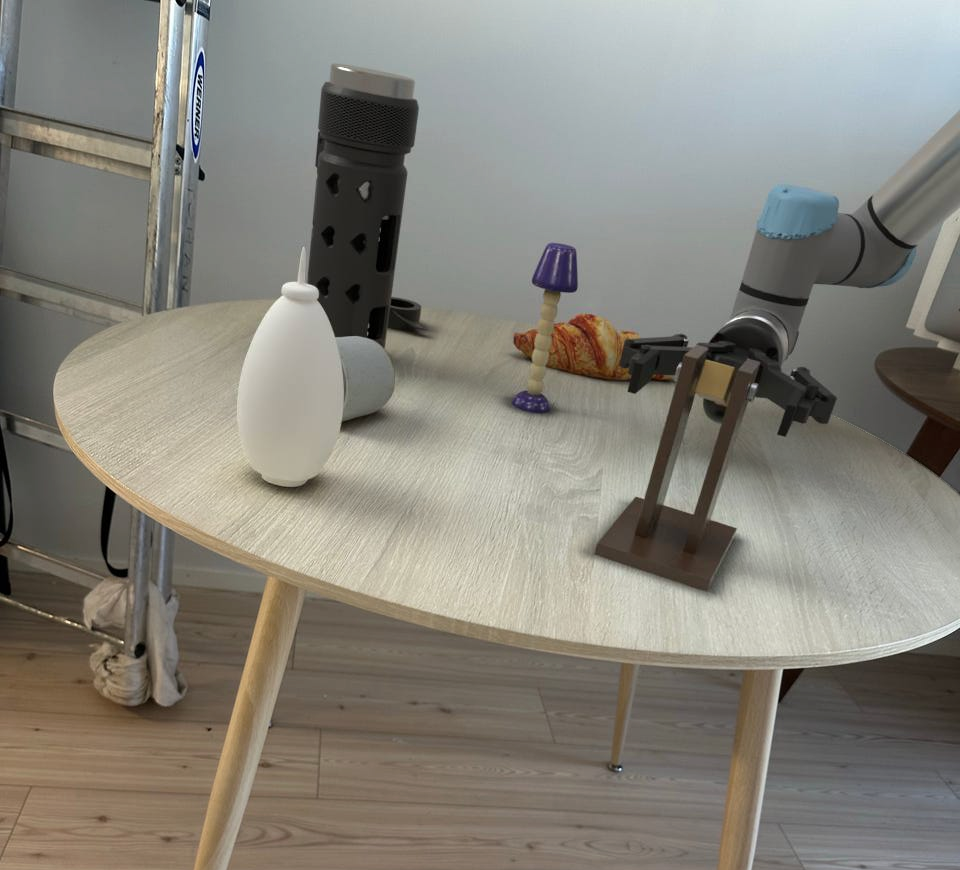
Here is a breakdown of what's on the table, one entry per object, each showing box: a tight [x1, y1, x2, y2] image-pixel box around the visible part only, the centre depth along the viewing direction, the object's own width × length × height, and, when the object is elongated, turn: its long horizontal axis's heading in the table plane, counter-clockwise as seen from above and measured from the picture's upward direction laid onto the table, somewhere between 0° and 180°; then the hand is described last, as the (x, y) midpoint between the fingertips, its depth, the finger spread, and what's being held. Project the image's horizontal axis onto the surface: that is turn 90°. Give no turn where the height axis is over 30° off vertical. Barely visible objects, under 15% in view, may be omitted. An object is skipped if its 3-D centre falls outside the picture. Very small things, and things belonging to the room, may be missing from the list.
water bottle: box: [306, 63, 420, 350], centre depth 105 cm, size 10×28×10 cm
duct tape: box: [387, 296, 429, 332], centre depth 127 cm, size 8×10×3 cm
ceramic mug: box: [335, 336, 396, 423], centre depth 95 cm, size 11×8×8 cm
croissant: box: [512, 312, 675, 381], centre depth 125 cm, size 21×10×8 cm, turn 97°
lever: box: [695, 360, 736, 425], centre depth 81 cm, size 14×4×4 cm, turn 158°
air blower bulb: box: [236, 246, 344, 488], centre depth 76 cm, size 8×8×18 cm
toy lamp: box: [511, 242, 579, 414], centre depth 104 cm, size 5×5×17 cm
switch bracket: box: [593, 344, 760, 593], centre depth 79 cm, size 12×9×16 cm
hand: (709, 399), depth 89 cm, fingers open, 13 cm apart
